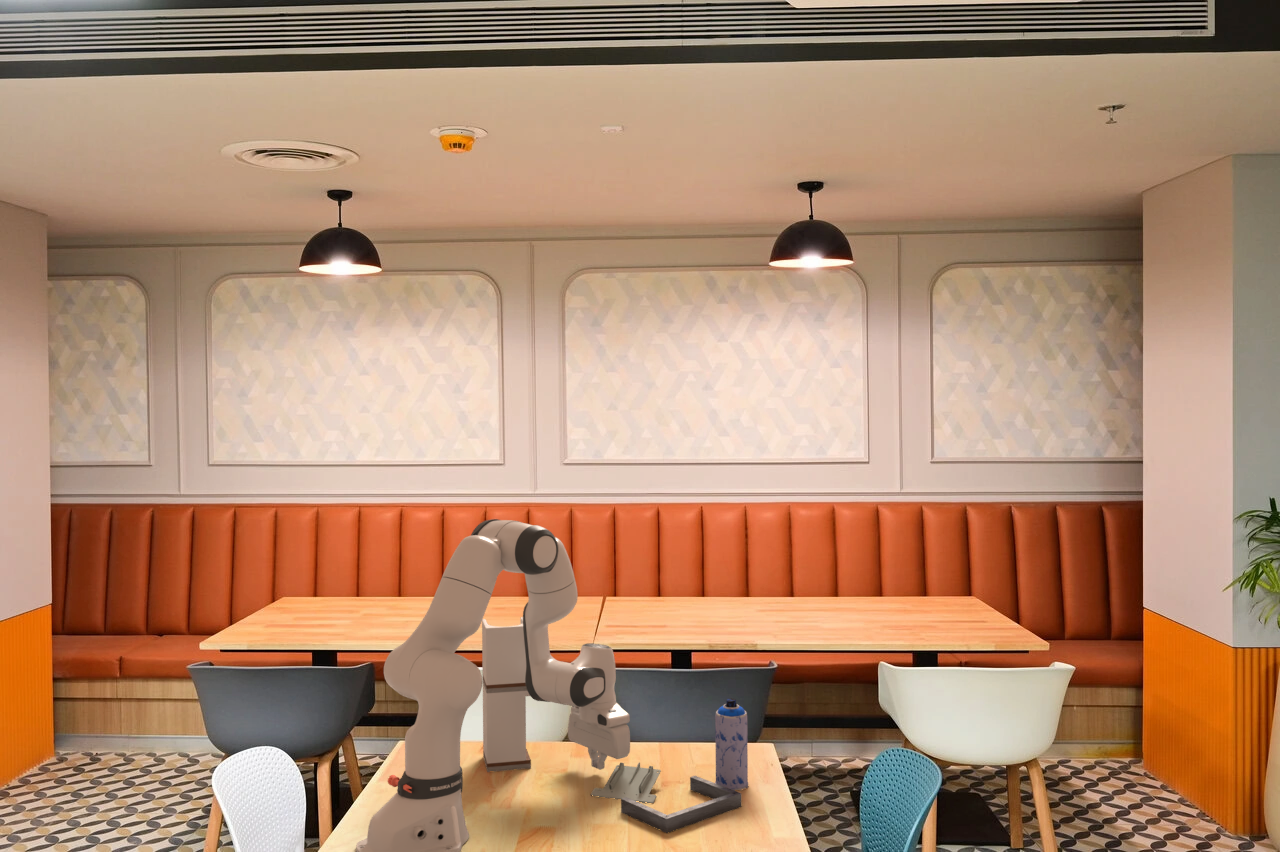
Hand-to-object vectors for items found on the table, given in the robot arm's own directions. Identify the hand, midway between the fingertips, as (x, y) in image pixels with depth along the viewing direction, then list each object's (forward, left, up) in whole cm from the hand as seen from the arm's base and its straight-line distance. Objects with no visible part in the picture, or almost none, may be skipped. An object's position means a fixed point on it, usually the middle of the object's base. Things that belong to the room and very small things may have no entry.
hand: (598, 767), depth 252 cm
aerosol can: (+19, -26, -2) cm, 32 cm away
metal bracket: (-1, -13, -2) cm, 14 cm away
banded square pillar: (-12, +22, -2) cm, 25 cm away
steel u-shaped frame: (0, -29, -2) cm, 29 cm away
